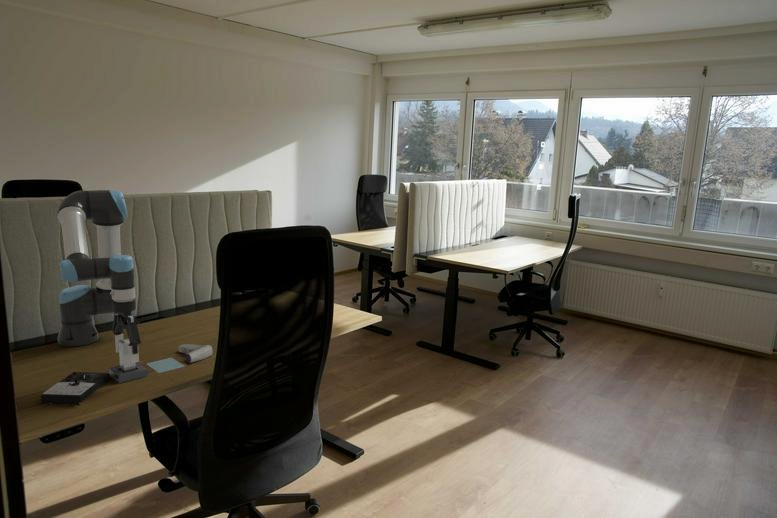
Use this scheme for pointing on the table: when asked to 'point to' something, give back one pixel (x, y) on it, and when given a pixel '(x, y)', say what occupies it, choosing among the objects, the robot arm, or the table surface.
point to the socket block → (128, 373)
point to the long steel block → (125, 356)
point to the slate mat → (165, 365)
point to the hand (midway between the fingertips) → (127, 357)
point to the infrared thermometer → (195, 352)
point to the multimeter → (74, 388)
